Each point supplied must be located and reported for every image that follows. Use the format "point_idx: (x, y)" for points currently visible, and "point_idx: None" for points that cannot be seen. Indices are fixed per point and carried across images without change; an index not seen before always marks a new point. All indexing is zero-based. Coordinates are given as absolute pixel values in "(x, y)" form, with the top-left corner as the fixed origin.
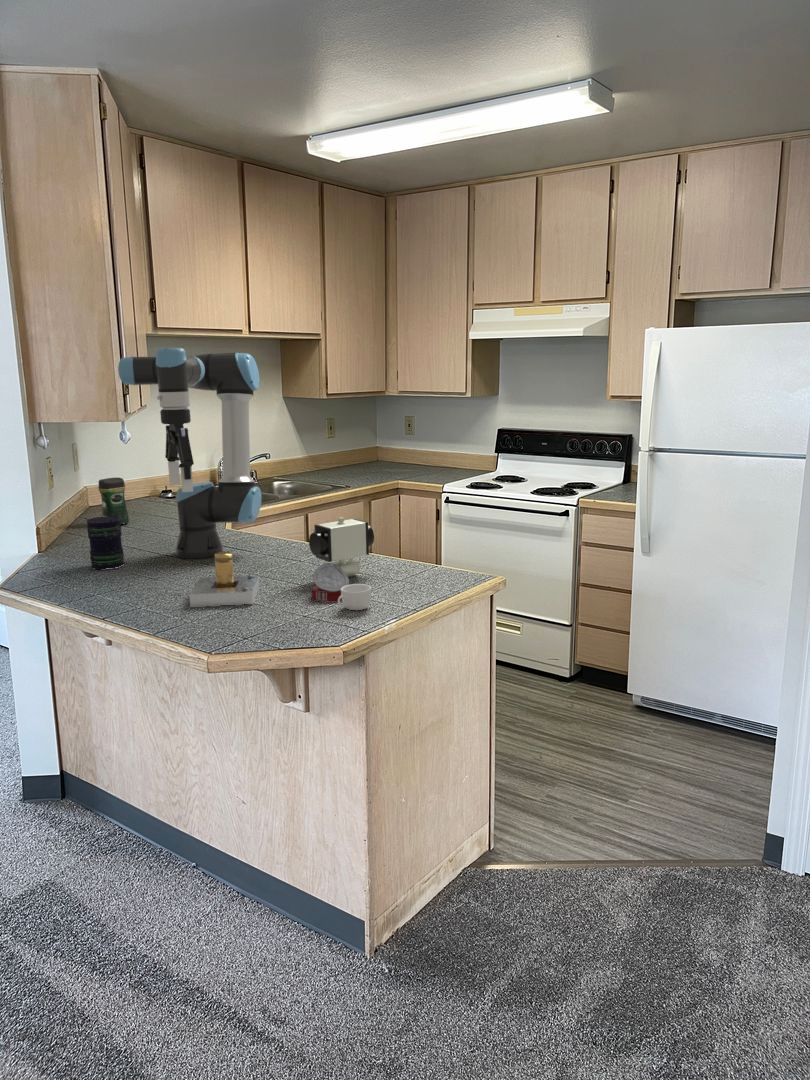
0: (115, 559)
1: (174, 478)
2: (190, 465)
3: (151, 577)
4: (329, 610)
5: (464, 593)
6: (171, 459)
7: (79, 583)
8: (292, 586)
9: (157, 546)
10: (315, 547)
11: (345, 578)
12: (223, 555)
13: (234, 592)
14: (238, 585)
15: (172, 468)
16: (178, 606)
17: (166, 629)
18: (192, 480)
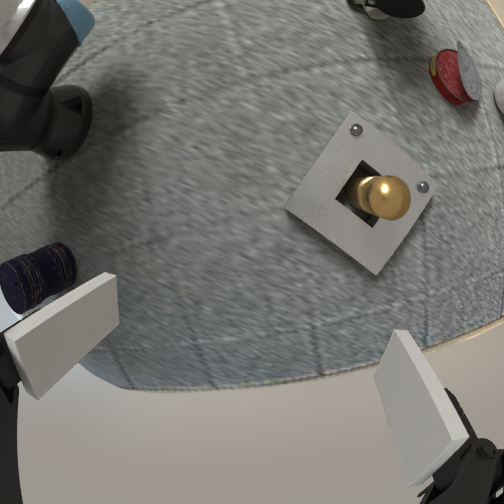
0: (66, 265)
1: (96, 320)
2: (498, 451)
3: (143, 240)
4: (496, 128)
5: (491, 5)
6: (8, 380)
7: (124, 331)
8: (373, 73)
9: (15, 170)
10: (401, 9)
11: (466, 53)
12: (405, 207)
13: (422, 210)
14: None
15: (57, 357)
16: (350, 280)
17: (424, 330)
18: (431, 368)
